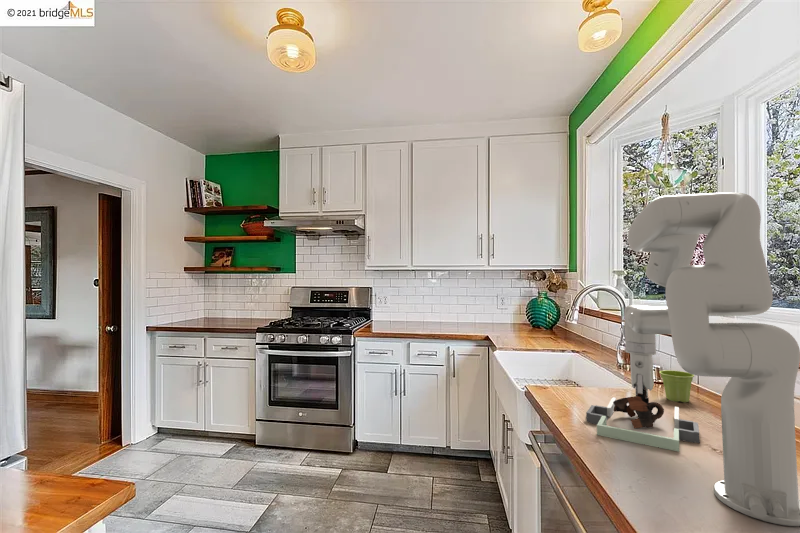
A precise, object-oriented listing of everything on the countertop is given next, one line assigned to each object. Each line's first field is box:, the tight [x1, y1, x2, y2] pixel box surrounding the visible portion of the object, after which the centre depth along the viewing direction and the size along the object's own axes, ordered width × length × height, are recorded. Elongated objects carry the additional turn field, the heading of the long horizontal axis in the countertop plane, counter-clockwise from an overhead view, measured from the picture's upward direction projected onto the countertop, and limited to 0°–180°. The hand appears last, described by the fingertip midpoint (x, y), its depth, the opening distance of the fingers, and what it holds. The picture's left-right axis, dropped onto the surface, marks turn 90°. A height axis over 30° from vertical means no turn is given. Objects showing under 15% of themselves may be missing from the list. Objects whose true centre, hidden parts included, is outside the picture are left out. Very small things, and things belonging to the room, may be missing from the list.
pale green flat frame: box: [585, 396, 701, 453], centre depth 105 cm, size 28×25×2 cm
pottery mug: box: [613, 395, 665, 429], centre depth 106 cm, size 12×10×8 cm
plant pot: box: [659, 369, 695, 403], centre depth 126 cm, size 9×9×9 cm
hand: (642, 411), depth 111 cm, fingers closed
